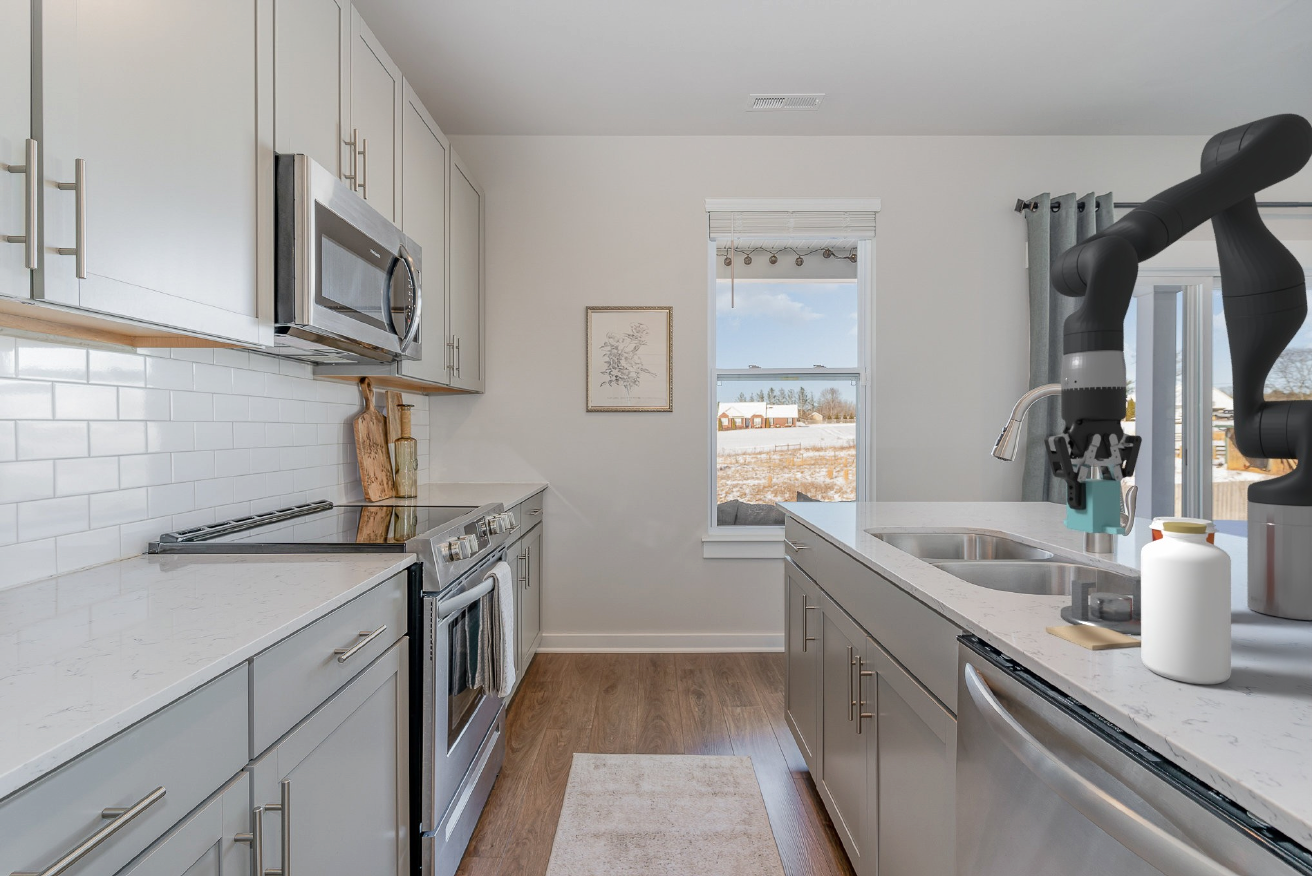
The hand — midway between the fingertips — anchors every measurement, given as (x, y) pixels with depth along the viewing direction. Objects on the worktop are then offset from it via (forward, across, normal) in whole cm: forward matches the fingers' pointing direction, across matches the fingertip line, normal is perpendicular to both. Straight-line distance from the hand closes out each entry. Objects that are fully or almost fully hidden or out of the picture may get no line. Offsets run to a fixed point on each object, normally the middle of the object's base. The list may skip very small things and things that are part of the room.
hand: (1093, 508), depth 90 cm
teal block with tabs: (+3, 0, 0) cm, 3 cm away
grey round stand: (+18, +9, +6) cm, 21 cm away
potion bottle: (+18, 0, -13) cm, 23 cm away
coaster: (+18, 0, 0) cm, 18 cm away
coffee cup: (+18, +22, +6) cm, 29 cm away
